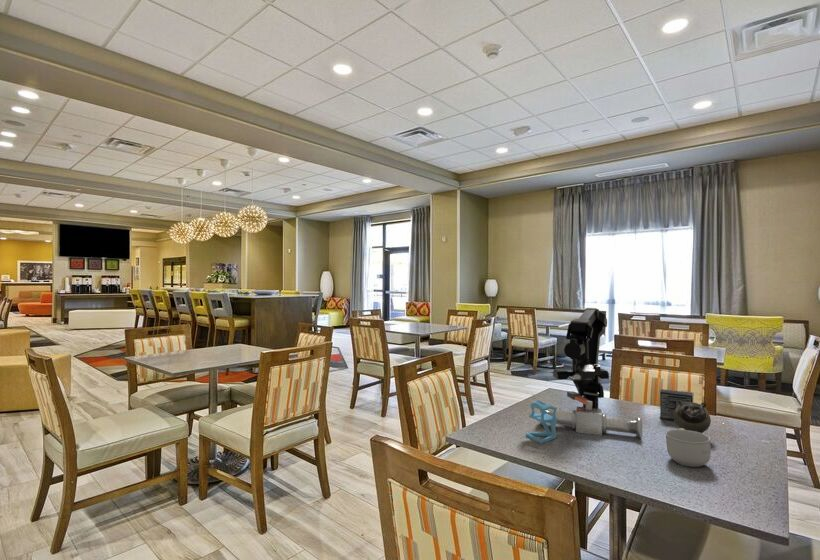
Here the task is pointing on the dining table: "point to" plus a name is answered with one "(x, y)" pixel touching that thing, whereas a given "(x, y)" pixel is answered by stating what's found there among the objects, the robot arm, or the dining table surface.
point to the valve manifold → (596, 422)
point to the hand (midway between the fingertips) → (581, 397)
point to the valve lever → (580, 399)
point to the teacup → (688, 447)
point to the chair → (543, 421)
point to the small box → (672, 402)
